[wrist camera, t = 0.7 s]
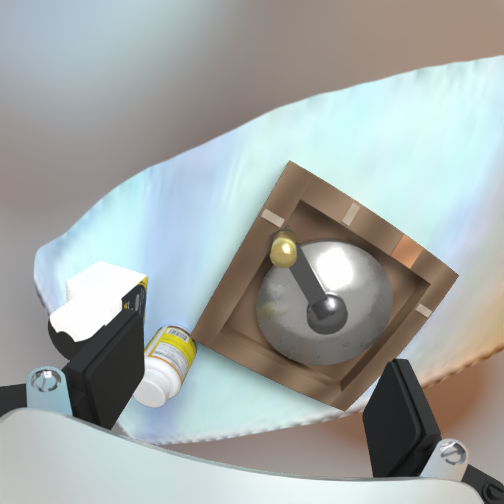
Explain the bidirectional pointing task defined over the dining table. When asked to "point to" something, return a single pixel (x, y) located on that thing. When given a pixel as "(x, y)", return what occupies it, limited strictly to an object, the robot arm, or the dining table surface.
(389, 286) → the dial
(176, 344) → the supplement bottle
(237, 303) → the housing
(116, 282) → the medicine bottle
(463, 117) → the dining table surface
